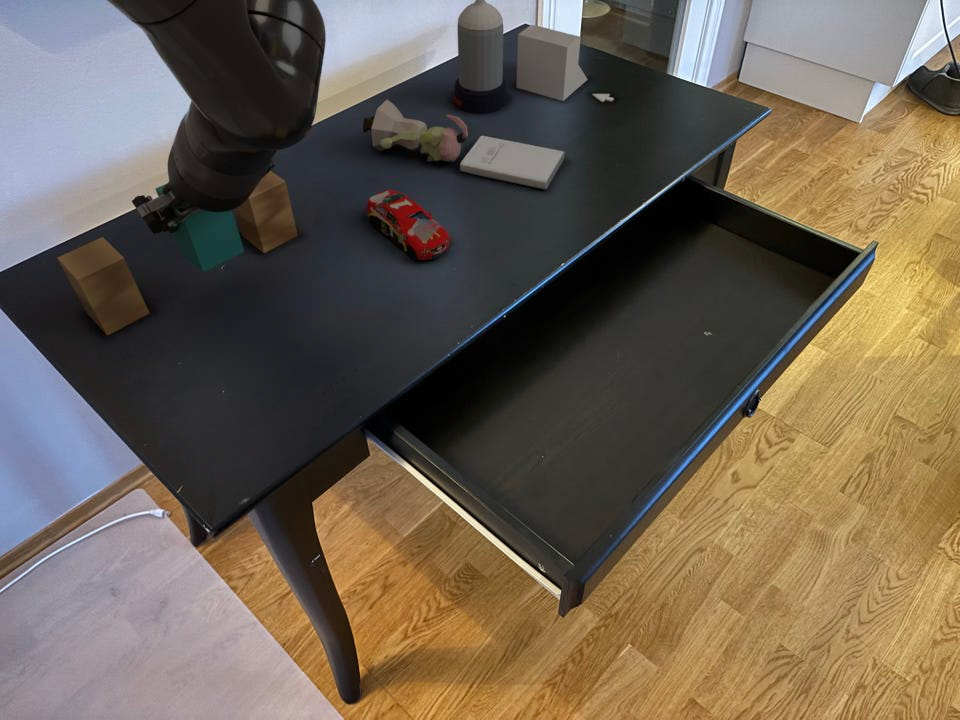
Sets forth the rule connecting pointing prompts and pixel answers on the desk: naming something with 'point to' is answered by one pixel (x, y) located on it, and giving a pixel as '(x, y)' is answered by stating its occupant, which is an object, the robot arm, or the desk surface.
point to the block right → (267, 214)
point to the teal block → (208, 238)
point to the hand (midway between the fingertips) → (191, 212)
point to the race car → (407, 225)
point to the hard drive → (513, 162)
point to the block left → (104, 285)
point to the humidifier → (480, 60)
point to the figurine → (414, 134)
